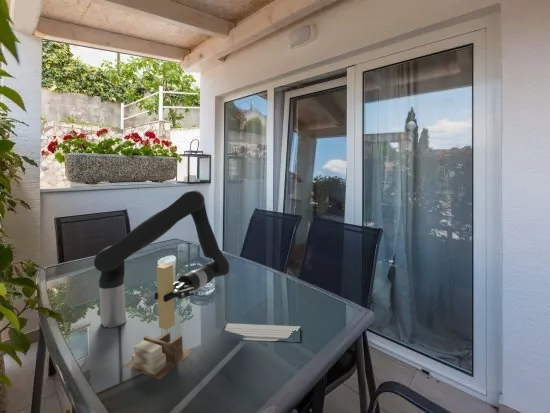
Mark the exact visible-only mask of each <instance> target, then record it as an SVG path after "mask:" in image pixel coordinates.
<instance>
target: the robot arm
mask: <svg viewBox="0 0 550 413" xmlns="http://www.w3.org/2000/svg"><path fill="white" fill-rule="evenodd" d="M205 201H206V200H205V196H204V195H203V193H202V192H200V191H199V190H195V189H193V190H192V189H190V190H188V191H186V192H184V193H183V194H182V195H181V196H180V197H179V198H177V199H176V200H175V201H173V203H171V204H170V205H169V206H168V207H165V208H163V209H162V210H160V211H158V212H157V213H154V214H153V215H151V216H150V217H148V218H147V219H145V220H144V221H142V222H141V223H139V224H138V225H137V226H135V227H134V228H133V229H132V230H131V231H130V232H128V234H126V235H125V236H124V237H123V238H121V239H120V240H119V241H118V242H116V243H115V244H113V245H110V246H109V245H108V246H106V247H104V248H103V249H101V250H100V251H98V253H97V254H96V255H95V257H94V260H93V266H94V268H95V269H96V270H97V271H99V272H100V273H101V274H100V276H99V280H98V290H99V298H100V299H99V300H100V302H98V303H99V304H98V305H99V314H100V315H99V316H100V323H101V322H102V324H101V325H103V326H105V327H108V328H107V329H113V328H116V327H120V326H123V324H124V325H125V323H126V322H127V313H126V295H125V293H126V292H125V283H124V282H125V281H124V279H125V260H127V258H129V257H130V256H133V254H135V253H137V252H139V251H141V250H142V249H144V248H145V247H147V246H150V245H151V244H152V243H153V242H155V241H157V240H158V239H160V238H161V237H162V236H164V235H165V234H166V233H168V232H169V231H170V230H171V229H172V228H173V227H174V226H175V225H176V224H177V223H178V222H180V221H181V220H183V219H184V218H186V217H188V216H191V217H192V220H193V222H194V225H195V230H196V234H197V239H198V243H199V245H200V248H201V250H202V251H201V252H202V254H203V256H204V257H205V258H208V259H212V261H209V262H207V263H205V264H204V265H203V266H201V267H198V268H196V269H193V270H190V271H188V272H187V273H185V274H182V275H180V276H179V277H178V279H177V281H173V283H174V291H173V292H170V293H168V294H166V295H164V296H163V301H164V302H167V301H169V300H171V299H173V298H174V300H175V299H178V300H179V299H183V298H187V297H190V296H193V295H194V294H195V291H197V290H200V289H201V288H203V287H204V286H205V285H207V284H208V283H210V282H212V281H213V279H214V278H216V277H217V278H218V277H224V276H226V275H228V274H229V272H230V263H229V261H228V259H227V257H225V255H224V254H223V252H222V251H221V249H220V247H219V244H218V242H217V240H216V237H215V234H214V231H213V229H212V226H211V223H210V221H209V217H208V212H207V208H206V202H205ZM153 298H154V300H157V301H158V291H156V292H155V293H154V296H153ZM103 326H102V327H103ZM105 327H104V328H105Z"/></svg>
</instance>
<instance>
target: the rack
mask: <svg viewBox="0 0 550 413" xmlns="http://www.w3.org/2000/svg"><path fill="white" fill-rule="evenodd" d="M144 340H145V341H148V342H151V343H154V344H157V345H160V346H162V353H163V354H166V366H165V367H164V368H162V369H161V370H160V371H159V372H157V373H156V374H155V375H154V374H151V373H149V372H146V371H143V370H141V369H138V368H135V367H133V366H132V359H130V360H129V361H128V362H126V363H125V364H123V365H122V366H123V367H125V368H128V369H131V370H133V371H136V372H138V373H141V374H144V375H146V376H148V377H152V378H154V379H157V380H160V379H162V378H163V377H164V376H166V375H167V374H168V373H169V372H170V371H172V370H173V369H174V368H175V367H177V365H179V364H180V363H181V362H182V361H184V360H185V359H186V358H187V357H188V356H190V354H192V353H193V352H194V351H193V350H190V349H189V348H188V349H187V348H184V347H183V336H182V335H180V334H178V335H177V336H175V337H174V338H172V339H171V332H169V331H166V332H164V333H163V334H162V335H159V336H158V337H157V338H155V337H152V336H147V335H145V336H144V337H143V341H144Z"/></svg>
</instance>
